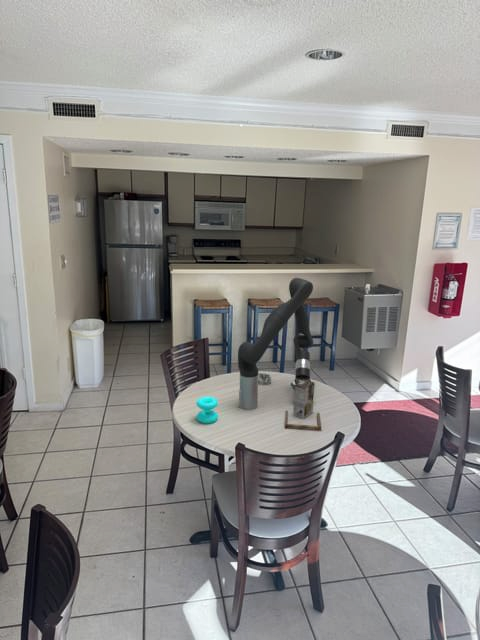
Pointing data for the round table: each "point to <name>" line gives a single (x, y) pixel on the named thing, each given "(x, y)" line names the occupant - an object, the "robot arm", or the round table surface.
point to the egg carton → (264, 378)
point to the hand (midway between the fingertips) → (302, 401)
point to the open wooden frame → (303, 427)
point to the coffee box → (303, 398)
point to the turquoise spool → (207, 410)
